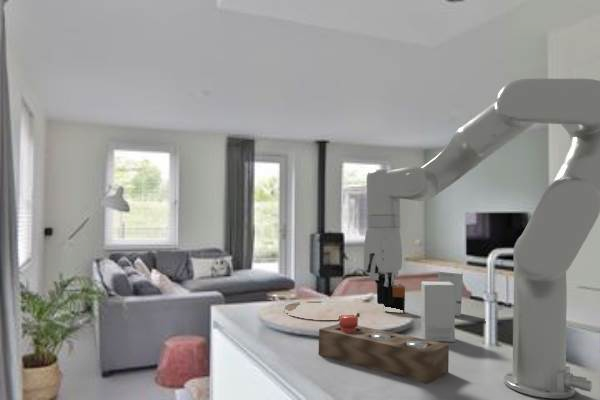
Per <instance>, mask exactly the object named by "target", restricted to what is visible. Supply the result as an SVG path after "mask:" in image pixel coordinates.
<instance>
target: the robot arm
mask: <svg viewBox="0 0 600 400" xmlns="http://www.w3.org/2000/svg"><path fill="white" fill-rule="evenodd" d="M535 124H551V125H561V126H562V127H563V129H565V132H567V133H568V135H569V137H570V145H569V148H568V151H567V153H566V154H565V157H564V158H563V160H562V162H561V164H560V166H559V168H558V171H557V172H556V174H555V176H554V177H553V179H552V181H551V183H549V185H548V186H547V187H546V189H544V191H543V193H542V195H541V197H540V200H539V202H538V204H537V206H536V208H535V209H534V211H533V213H532V215H531V217H530V219H529V220H528V222H527V224H526V226H525V228H524V230H523V232H522V233H521V235H520V236H519V237H518V238H517V239H516V242H515V243H514V246H513V308H512V309H513V310H512V314H513V315H512V318H513V319H512V371H510V372H508V373H506V374H505V375H504V378H503V381H504V383H505V385H506V386H507V387H508V388H510V389H512V390H513V391H516V392H518V393H521V394H524V395H528V396H532V397H537V398H543V399H554V400H556V399H559V400H560V399H561V400H562V399H569V398H571V397H574V395H575V394H576V389H579V390H581V391H586V392H592V388H593V387H592V386H593V382H592V381H591V380H588V379H587V377H586V376H585V377H583V376H578V375H574V373H571V367H570V366H567V311H568V310H567V307H568V304H567V303H568V299H567V297H568V296H567V294H568V293H567V287H568V286H567V271H568V270H569V269H570V267H571V265H572V264H573V263H574V261H575V259H576V257H577V255H578V253H579V252H580V250H581V249H582V247H583V245H584V244H585V243H584V242H585V241H586V240H587V238H588V236H589V234H590V232H591V230H592V229H593V227H594V226H595V224H596V222H597V220H598V219H599V218H598V217H599V216H600V80H597V79H593V78H520V79H515V80H512V81H510V82H508V83H507V84H505V85H504V86H503V87H501V89H500V91H499V92H498V94H497V97H496V101H494V102H493V103H492V104H490V105H489V106H487V107H486V108H485V109H484V110H482V111H481V112H480V113H478V114H476V115H475V116H474V117H473V118H471V119H470V120H469V121H468V122H466V123H464V124H463V125H462V126H461V127H459V128H458V129H457V130H456V131H455V132H454V134H453V135H452V137H451V139H450V141H449V142H448V144H447V145H446V146H445V147H444V149H443V150H442V151H441V152H440V153H438V154H437V156H435V157H434V158H433V159H431V160H430V161H428V162H427V163H425V164H424V165H423V166H422V167H421V166H418V165H417V166H416V165H412V166H411V165H410V166H404V167H401V168H396V169H386V168H384V169H382V168H381V169H374V170H373V169H372V170H370V171H368V173H367V175H366V223H367V224H366V226H367V229H366V231H365V236H364V247H363V271H364V272H365V273H366V274H369V279H370V280H373V281H374V282H375V287H376V303H377V304H379V305H383V306H384V305H390V304H393V285H394V284H395V278H396V277H398V275H399V271H401V269H402V268H403V267H402V266H403V248H402V247H403V246H402V237H401V232H400V230H401V199H402V200H409V201H415V202H426V201H429V200H431V199H432V198H434V197H436V196H437V195H438V194H440V193H442V192H443V191H444V190H446V189H447V188H449V187H451V186H452V185H453V184H454V183H457V181H458V180H460V179H461V178H462V177H464V176H465V175H466V174H467V173H468V172H471V170H473V169H474V168H476V167H477V166H478V165H479V164H481V163H482V162H483V161H485V160H486V159H487V158H489V156H492V155H493V154H494V153H496V152H497V151H498V150H500V149H501V148H502V147H504V146H505V145H507V144H508V143H510V142H511V141H513V140H514V139H515V138H517V137H519V136H520V135H521V134H522V133H524V132H525V131H526V130H529V128H531V127H532V126H533V125H535Z"/></svg>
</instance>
